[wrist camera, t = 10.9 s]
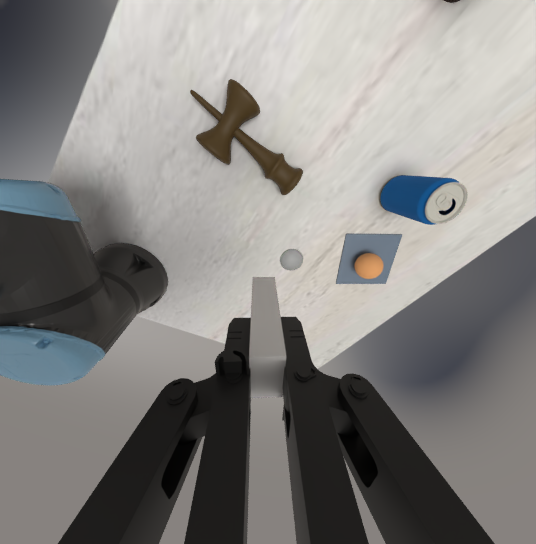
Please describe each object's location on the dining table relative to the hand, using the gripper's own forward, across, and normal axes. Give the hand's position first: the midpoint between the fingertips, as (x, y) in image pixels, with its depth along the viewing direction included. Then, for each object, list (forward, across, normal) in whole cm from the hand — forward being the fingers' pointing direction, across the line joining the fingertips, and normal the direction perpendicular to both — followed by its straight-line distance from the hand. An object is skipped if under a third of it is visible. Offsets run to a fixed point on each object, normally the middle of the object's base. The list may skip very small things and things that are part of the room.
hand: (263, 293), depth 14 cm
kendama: (+29, -2, +11) cm, 31 cm away
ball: (+26, +23, -10) cm, 36 cm away
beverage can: (+29, +26, +4) cm, 39 cm away
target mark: (+28, +24, -10) cm, 39 cm away
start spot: (+28, +7, -10) cm, 31 cm away
